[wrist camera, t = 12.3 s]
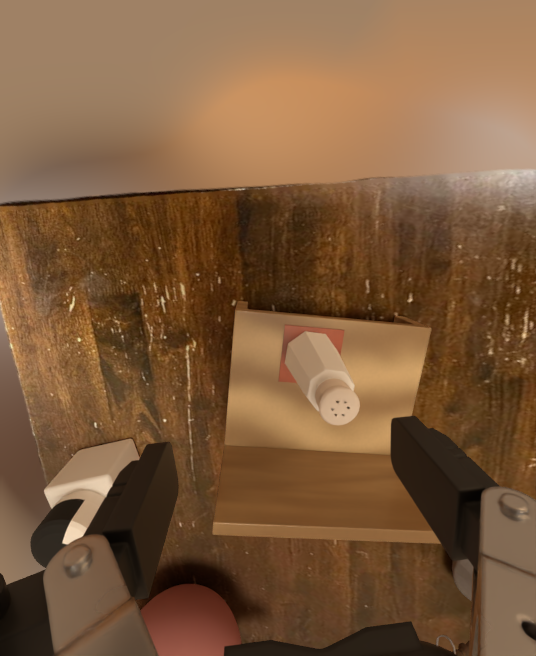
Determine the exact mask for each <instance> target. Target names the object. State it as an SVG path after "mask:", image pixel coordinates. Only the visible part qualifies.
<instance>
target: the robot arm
mask: <svg viewBox="0 0 536 656" xmlns="http://www.w3.org/2000/svg"><path fill="white" fill-rule="evenodd" d="M390 456H391V462H392V466H393V469H394V471H395V473H396V475H397V476H398V478H399V479H400V481H401V482H402V484H403V486H404V487H405V489H406V490H407V492H408V493H409V495H410V496H411V498H412V499H413V501H414V503H415V504H416V506H417V507H418V509H419V510H420V512H421V513H422V515H423V516H424V518H425V519H426V521H427V523H428V524H429V526H430V527H431V529H432V530H433V532H434V533H435V535H436V536H437V538H438V540H439V541H440V543H441V544H442V546H443V547H444V549H445V550H446V552H447V553H448V555H449V557H450V558H451V560H452V561H457V560H464V559H468V560H469V561H470V563H471V564H472V566H473V574H472V596H471V620H470V643H469V656H536V500H534V499H533V498H531V497H530V496H528V495H526V494H524V493H522V492H520V491H517V490H514V489H511V488H506V487H500V486H499V485H498V484H497V483H496V482H495V481H494V480H492V479H491V478H490V477H489V476H488V475H487V474H486V473H485V472H484V471H483V470H482V469H481V468H480V467H479V466H478V465H477V464H476V463H475V462H474V461H473V460H472V459H471V458H469V457H467V456H466V454H465V453H464V452H463V451H462V450H461V449H460V448H458V446H457V445H456V444H455V443H454V442H453V441H452V440H451V439H450V438H449V437H447V436H446V435H444V434H442V433H440V432H439V431H437V430H435V429H433V428H430V429H428V428H427V427H426V426H425V425H424V424H423V423H422V422H421V421H420V420H419V419H418V418H417V417H415V416H406V417H397V418H393V419H392V421H391V446H390ZM112 485H113V486H112V487H111V488H110V490H109V491H108V493H107V497H106V498H104V500H103V502H102V504H101V505H100V507H99V509H98V511H97V512H96V514H95V516H94V518H93V519H92V521H91V523H90V525H89V526H88V528H87V530H86V532H85V533H84V535H83V537H81V538H78V539H76V540H74V541H72V542H71V543H69V544H67V545H66V546H65V547H63V548H62V549H61V550H60V551H59V552H58V553H57V554H56V555H55V556H54V557H53V558H52V559H51V561H50V562H49V564H48V565H47V567H46V569H45V570H43V571H41V572H39V573H36V574H33V575H31V576H28V577H26V578H23V579H20V580H18V581H15V582H13V583H10V584H8V585H6V582H5V580H4V578H3V575H2V574H1V573H0V656H159V655H158V653H157V650H156V648H155V645H154V643H153V641H152V638H151V636H150V633H149V631H148V629H147V626H146V624H145V622H144V619H143V617H142V614H141V612H140V610H139V607H138V605H137V603H136V600H138V599H146V598H149V595H150V591H151V588H152V584H153V580H154V577H155V573H156V570H157V566H158V563H159V559H160V556H161V552H162V549H163V545H164V542H165V538H166V535H167V531H168V528H169V524H170V521H171V517H172V514H173V510H174V507H175V503H176V500H177V496H178V476H177V471H176V466H175V460H174V455H173V450H172V445H171V443H170V442H163V443H154V444H148V445H147V446H146V447H145V449H144V451H143V453H142V455H141V457H140V459H139V460H135V461H131V462H130V463H129V464H128V465H127V466H126V467H125V468H123V469H122V470H121V471H120V472H119V474H118V476H117V477H116V479H115V481H114V483H113V484H112ZM224 656H458V655H456V654H454V653H452V652H451V651H448V650H446V649H444V648H442V647H440V646H437V645H434V644H431V643H428V642H424V641H419V639H418V636H417V634H416V632H415V629H414V627H413V625H412V622H403V623H396V624H388V625H381V626H373V627H366V628H364V629H362V630H360V631H358V632H356V633H354V634H352V635H350V636H348V637H346V638H344V639H342V640H340V641H338V642H336V643H334V644H332V645H330V646H328V647H326V648H323V649H315V648H310V647H304V646H299V645H294V644H289V643H283V642H278V641H273V640H268V641H261V642H253V643H246V644H238V645H231V646H224Z"/></svg>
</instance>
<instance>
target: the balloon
mask: <svg viewBox="0 0 536 656" xmlns="http://www.w3.org/2000/svg"><path fill="white" fill-rule="evenodd" d="M140 612H141V614H142V617H143V619H144V622H145V624H146V626H147V629H148V631H149V633H150V636H151V638H152V641H153V643H154V645H155V648H156V650H157V653H158V655H159V656H224V646H231V645H238V644H241V637H240V633H239V629H238V625H237V622H236V620H235V617H234V615H233V613H232V611H231V609H230V608H229V606H228V605H227V603H226V602H225V601H224V600H223V599H222V597H221V596H219V595H218V594H217V593H216V592H214V591H213V590H211V589H209V588H207V587H205V586H202V585H198V584H181V585H177V586H174V587H171V588H169V589H167V590H165V591H163V592H161V593H159V594H158V595H157V596H155V597H154V598H153V599H152V600H150V601H149V602H148V603H147V604H146V605H145V606H144V607H143V608H142V610H141V611H140Z"/></svg>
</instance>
